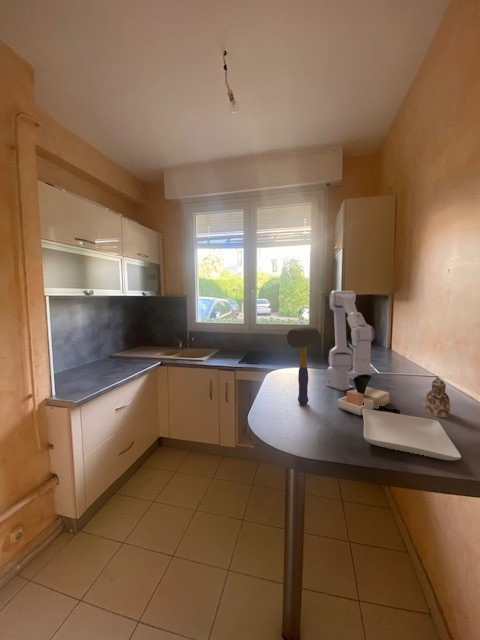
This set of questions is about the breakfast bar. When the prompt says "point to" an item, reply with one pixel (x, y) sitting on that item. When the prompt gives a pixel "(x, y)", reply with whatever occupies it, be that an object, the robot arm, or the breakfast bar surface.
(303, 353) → the rubber mallet
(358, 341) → the robot arm
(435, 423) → the salad plate
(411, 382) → the breakfast bar surface
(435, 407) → the figurine
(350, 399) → the terracotta-coloured block
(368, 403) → the tray
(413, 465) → the breakfast bar surface
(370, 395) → the beige bevelled block
